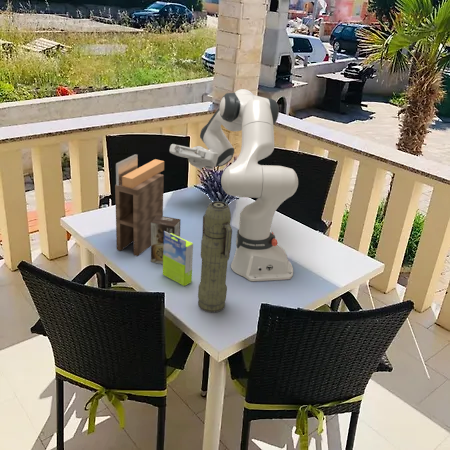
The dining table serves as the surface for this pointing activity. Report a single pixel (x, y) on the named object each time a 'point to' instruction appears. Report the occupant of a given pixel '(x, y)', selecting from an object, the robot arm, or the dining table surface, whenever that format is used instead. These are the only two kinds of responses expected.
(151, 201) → the shelf
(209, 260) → the thermos
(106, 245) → the dining table surface
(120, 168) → the bookend
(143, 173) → the orange rectangular bar
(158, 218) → the coffee box
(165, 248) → the box
